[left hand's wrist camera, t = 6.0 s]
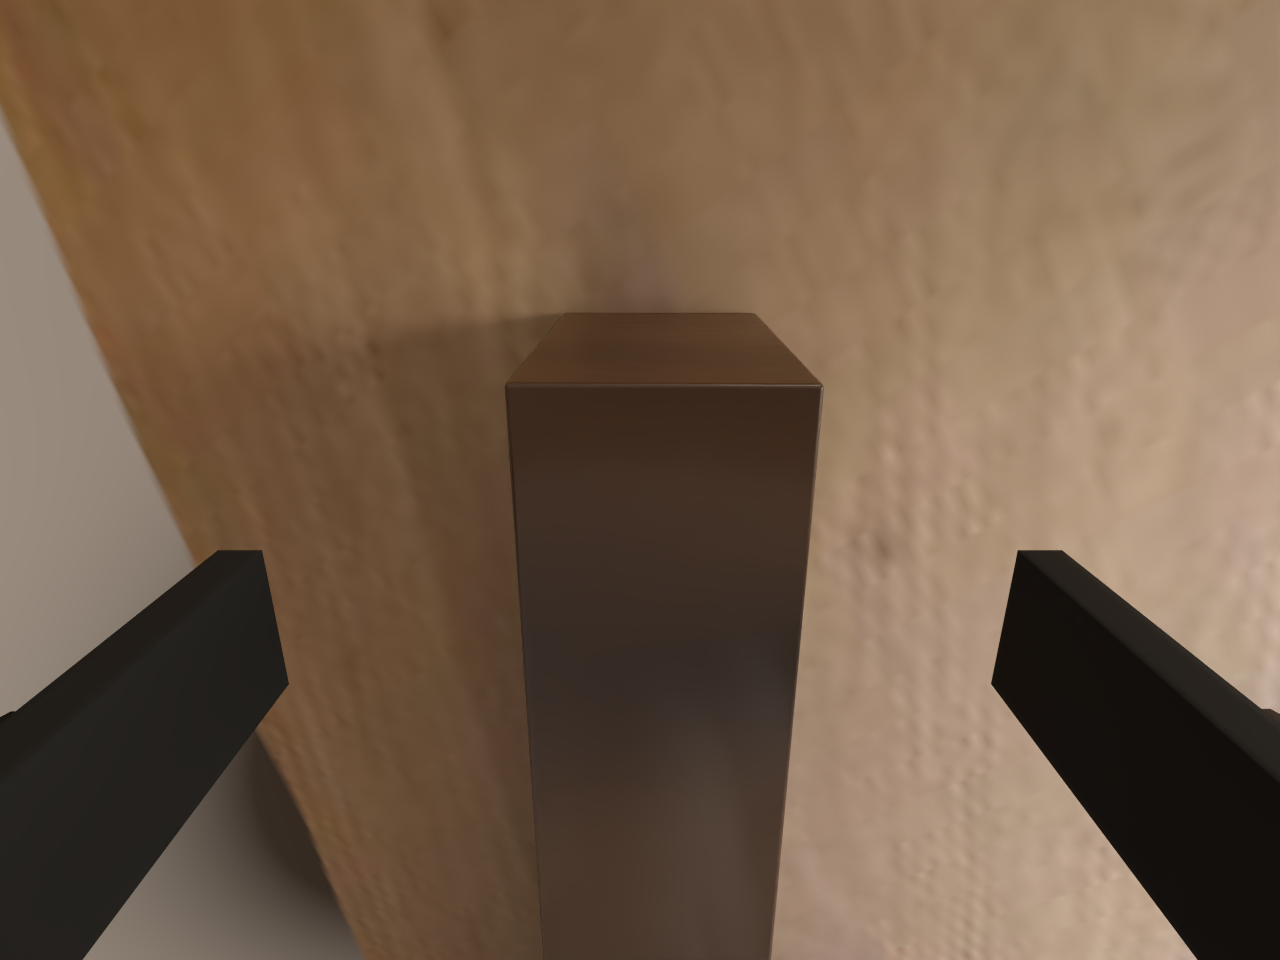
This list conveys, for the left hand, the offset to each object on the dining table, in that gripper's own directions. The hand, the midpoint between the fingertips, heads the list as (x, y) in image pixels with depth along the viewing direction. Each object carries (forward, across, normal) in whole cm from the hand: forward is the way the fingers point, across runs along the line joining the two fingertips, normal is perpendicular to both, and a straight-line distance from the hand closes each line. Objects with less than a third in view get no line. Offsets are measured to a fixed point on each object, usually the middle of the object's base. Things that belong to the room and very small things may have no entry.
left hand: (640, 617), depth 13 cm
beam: (+8, 0, -12) cm, 14 cm away
